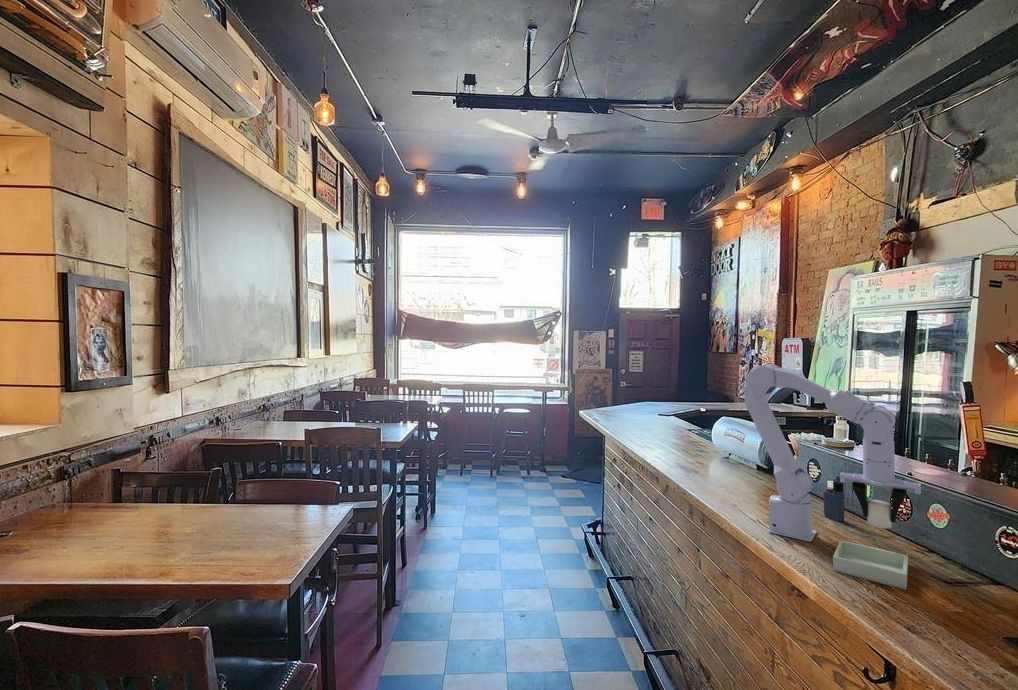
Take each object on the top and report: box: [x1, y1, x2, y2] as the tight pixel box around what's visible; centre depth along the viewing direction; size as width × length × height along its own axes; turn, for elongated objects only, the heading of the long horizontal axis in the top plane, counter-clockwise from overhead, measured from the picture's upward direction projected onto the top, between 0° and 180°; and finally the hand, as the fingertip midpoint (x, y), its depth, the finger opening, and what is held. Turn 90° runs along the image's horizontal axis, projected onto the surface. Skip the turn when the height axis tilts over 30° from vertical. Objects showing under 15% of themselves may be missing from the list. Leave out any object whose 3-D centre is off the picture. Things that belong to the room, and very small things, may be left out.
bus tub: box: [832, 539, 909, 591], centre depth 99 cm, size 12×11×3 cm
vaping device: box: [823, 476, 845, 523], centre depth 128 cm, size 3×5×12 cm, turn 16°
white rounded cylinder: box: [866, 499, 893, 529], centre depth 106 cm, size 4×4×5 cm
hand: (879, 518), depth 106 cm, fingers closed on white rounded cylinder, 4 cm apart
